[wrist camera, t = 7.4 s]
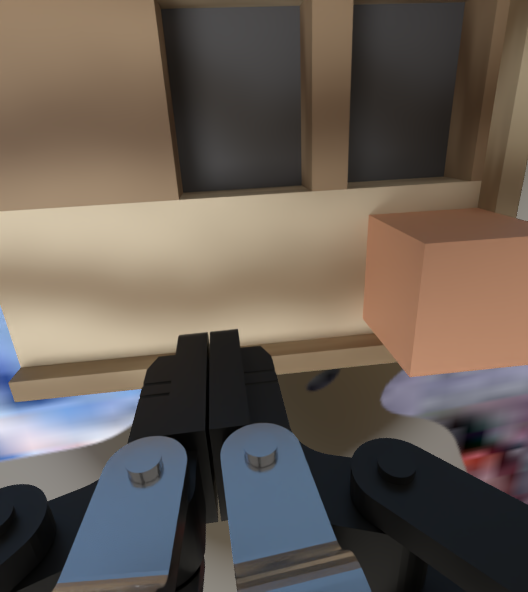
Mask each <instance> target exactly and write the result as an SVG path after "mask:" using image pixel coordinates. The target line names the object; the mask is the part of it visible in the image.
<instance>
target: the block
mask: <svg viewBox="0 0 528 592" xmlns="http://www.w3.org/2000/svg"><path fill="white" fill-rule="evenodd" d="M363 320H364V321H365V322H366V324H367V325H368V326H369V327H370V328H371V330H372V331H373V332H374V333H375V335H376V336H377V337H378V338H379V340H380V341H381V342H382V343H383V345H384V346H385V347H386V348H387V350H388V351H389V352H390V353H391V354H392V356H393V357H394V358H395V359H396V361H397V362H398V363H399V364H400V366H401V367H402V368H403V369H404V371H405V372H406V373H407V374H408V376H409V377H415V376H425V375H434V374H444V373H454V372H463V371H473V370H482V369H492V368H501V367H511V366H520V365H528V221H524V220H520V219H517V218H513V217H510V216H506V215H502V214H499V213H495V212H491V211H488V210H484V209H480V208H466V209H451V210H436V211H420V212H405V213H390V214H375V215H369V219H368V236H367V253H366V270H365V287H364V304H363Z"/></svg>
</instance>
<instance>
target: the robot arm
mask: <svg viewBox="0 0 528 592" xmlns="http://www.w3.org/2000/svg"><path fill="white" fill-rule="evenodd" d="M218 499H219V507H220V514H221V521H225V520H228V522H229V530H230V538H231V546H232V554H233V562H234V570H235V578H236V586H237V592H528V505H527V504H525V503H523V502H521V501H519V500H518V499H516V498H514V497H512V496H510V495H508V494H506V493H504V492H502V491H500V490H499V489H497V488H495V487H493V486H491V485H489V484H487V483H485V482H483V481H482V480H480V479H478V478H476V477H474V476H472V475H470V474H468V473H466V472H465V471H463V470H461V469H459V468H457V467H455V466H453V465H451V464H449V463H447V462H446V461H444V460H442V459H440V458H438V457H436V456H434V455H432V454H430V453H429V452H427V451H424V450H423V449H421V448H419V447H417V446H415V445H413V444H411V443H408V442H405V441H402V440H398V439H391V438H379V439H374V440H371V441H368V442H366V443H364V444H362V445H361V446H360V447H359V448H358V449H357V450H356V451H355V453H354V455H353V457H352V458H350V457H342V456H334V455H328V454H324V453H320V452H317V451H314V450H312V449H310V448H308V447H307V446H305V445H303V444H302V443H301V442H300V441H299V440H298V439H297V438H296V436H295V435H294V434H293V433H292V431H291V429H290V426H289V422H288V418H287V414H286V410H285V406H284V402H283V399H282V395H281V391H280V387H279V384H278V379H277V375H276V372H275V367H274V364H273V360H272V356H271V355H270V354H269V353H268V352H267V351H266V350H265V349H264V348H262V347H261V346H253V347H243V348H240V340H239V333H238V329H231V330H221V331H211V332H210V343H209V336H208V332H202V333H193V334H183V335H179V336H178V341H177V348H176V354H175V355H169V356H159V357H158V358H157V359H156V360H155V361H154V362H153V363H152V364H151V366H150V367H149V368H148V369H147V371H146V375H145V379H144V382H143V387H142V390H141V394H140V399H139V402H138V405H137V409H136V413H135V417H134V421H133V424H132V428H131V432H130V436H129V440H128V444H127V445H125V446H124V447H122V448H121V449H119V450H118V451H117V452H116V453H115V454H114V455H113V456H112V457H111V458H110V459H109V460H108V462H107V463H106V465H105V467H104V469H103V471H102V474H101V476H100V479H99V480H97V481H95V482H94V483H92V484H90V485H88V486H86V487H83V488H81V489H78V490H76V491H73V492H71V493H68V494H66V495H63V496H61V497H58V498H55V499H53V500H50V501H47V499H46V496H45V495H44V493H43V492H42V491H41V490H40V489H39V488H37V487H35V486H32V485H26V484H19V485H11V486H7V487H4V488H1V489H0V592H203V585H204V573H205V559H204V553H205V542H206V539H205V538H206V523H213V522H218Z"/></svg>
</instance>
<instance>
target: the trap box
mask: <svg viewBox="0 0 528 592" xmlns="http://www.w3.org/2000/svg"><path fill="white" fill-rule="evenodd" d="M527 160H528V0H0V305H1V308H2V311H3V314H4V317H5V320H6V323H7V326H8V329H9V332H10V335H11V338H12V342H13V345H14V348H15V351H16V354H17V357H18V360H19V363H20V366H21V368H20V370H19V371H18V372H17V373H16V374H15V375H14V377H13V378H12V379H11V380H10V381H9V386H10V389H11V392H12V395H13V398H14V400H15V402H20V401H30V400H39V399H49V398H58V397H68V396H78V395H87V394H97V393H106V392H116V391H125V390H135V389H142V387H143V382H144V379H145V375H146V371H147V369H148V368H149V367H150V366H151V364H152V363H153V362H154V361H155V360H156V359H157V358H158V357H159V356H169V355H175V354H176V348H177V341H178V336H179V335H183V334H193V333H202V332H208V336H209V343H210V332H211V331H221V330H231V329H238V333H239V340H240V348H243V347H253V346H261V347H262V348H264V349H265V350H266V351H267V352H268V353H269V354H270V355H271V356H272V360H273V364H274V367H275V372H276V375H278V374H288V373H298V372H307V371H316V370H326V369H336V368H345V367H355V366H365V365H374V364H383V363H393V362H397V361H396V359H395V358H394V357H393V356H392V354H391V353H390V352H389V351H388V350H387V348H386V347H385V346H384V345H383V343H382V342H381V341H380V340H379V338H378V337H377V336H376V335H375V333H374V332H373V331H372V330H371V328H370V327H369V326H368V325H367V324H366V322H365V321H364V320H363V304H364V287H365V270H366V253H367V236H368V219H369V215H375V214H390V213H405V212H420V211H436V210H451V209H466V208H480V209H484V210H488V211H491V212H495V213H499V214H502V215H506V216H510V217H513V218H516V216H517V211H518V205H519V200H520V196H521V190H522V185H523V180H524V175H525V170H526V165H527Z"/></svg>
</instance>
